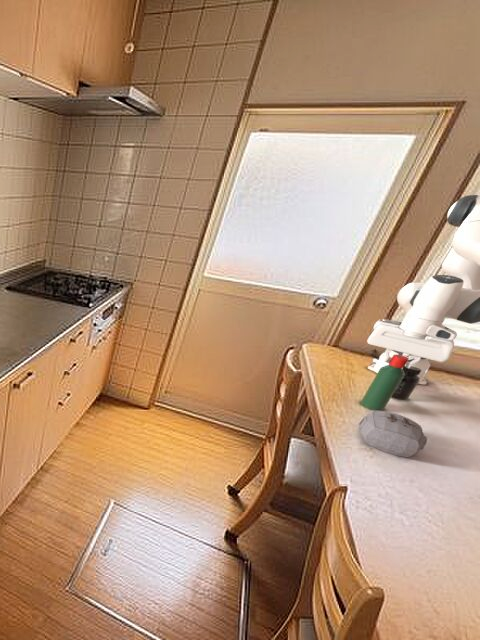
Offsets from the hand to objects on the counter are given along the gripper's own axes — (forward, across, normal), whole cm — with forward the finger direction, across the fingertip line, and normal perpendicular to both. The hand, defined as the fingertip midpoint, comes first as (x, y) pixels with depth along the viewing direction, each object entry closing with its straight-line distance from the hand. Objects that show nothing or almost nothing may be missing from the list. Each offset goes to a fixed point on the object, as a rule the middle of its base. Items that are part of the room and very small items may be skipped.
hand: (396, 364), depth 143 cm
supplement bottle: (+16, +5, +21) cm, 27 cm away
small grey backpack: (+18, +6, -26) cm, 32 cm away
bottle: (+17, 0, +1) cm, 17 cm away
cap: (0, 0, 0) cm, 0 cm away
